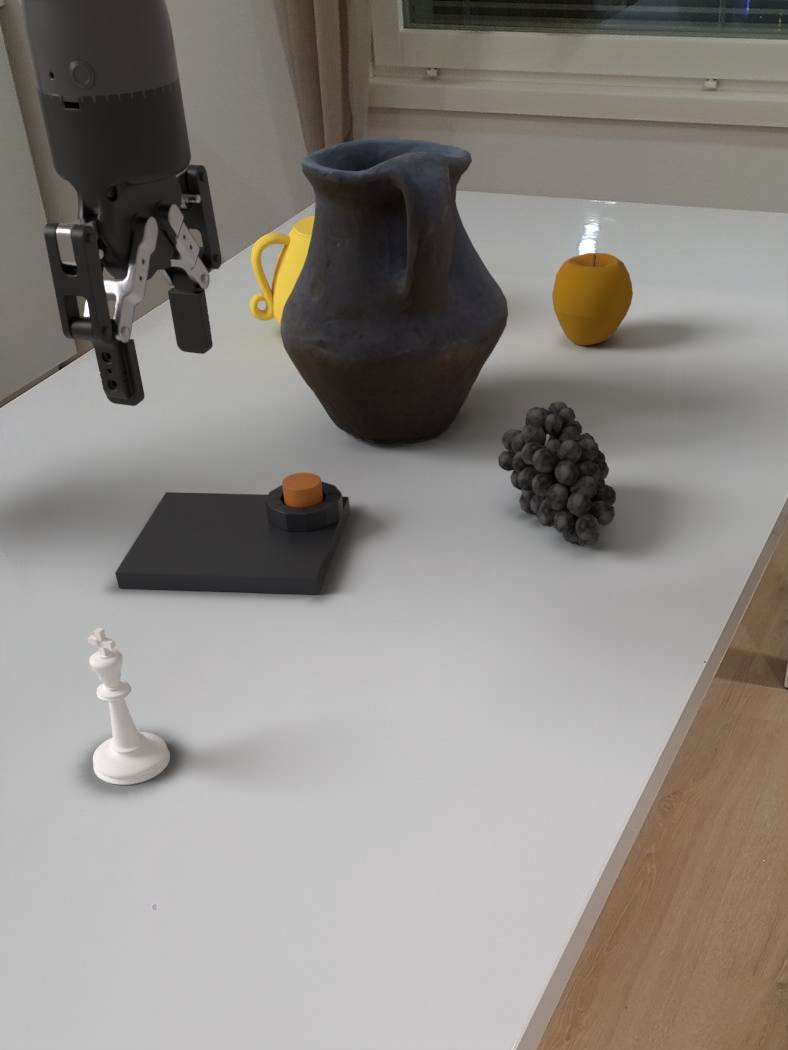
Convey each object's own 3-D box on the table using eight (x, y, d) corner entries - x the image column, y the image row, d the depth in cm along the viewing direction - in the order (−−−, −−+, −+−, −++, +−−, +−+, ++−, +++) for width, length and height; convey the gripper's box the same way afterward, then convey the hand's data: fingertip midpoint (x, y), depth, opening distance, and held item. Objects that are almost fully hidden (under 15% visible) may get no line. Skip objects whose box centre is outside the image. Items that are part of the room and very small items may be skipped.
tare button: (280, 509, 105) (278, 489, 104) (289, 491, 107) (286, 471, 106) (319, 510, 105) (316, 490, 104) (326, 492, 107) (324, 472, 106)
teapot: (435, 343, 140) (429, 216, 131) (262, 362, 136) (245, 234, 128) (399, 285, 154) (392, 168, 146) (242, 302, 151) (225, 183, 143)
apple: (617, 359, 135) (622, 271, 129) (540, 351, 137) (541, 264, 131) (638, 332, 141) (643, 246, 135) (564, 324, 143) (566, 239, 137)
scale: (118, 588, 101) (110, 553, 99) (168, 506, 112) (162, 474, 110) (318, 594, 100) (314, 560, 98) (350, 511, 110) (347, 478, 108)
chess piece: (140, 792, 82) (106, 659, 75) (78, 774, 83) (39, 641, 77) (185, 749, 85) (156, 618, 78) (124, 732, 87) (91, 602, 80)
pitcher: (454, 368, 134) (444, 96, 117) (551, 446, 119) (556, 147, 103) (266, 406, 128) (228, 123, 111) (344, 493, 113) (313, 182, 96)
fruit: (622, 452, 96) (568, 374, 107) (520, 497, 97) (477, 415, 108) (649, 545, 102) (595, 462, 113) (553, 587, 103) (509, 501, 114)
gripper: (115, 46, 75) (166, 330, 85) (-34, 99, 65) (45, 414, 75) (231, 51, 73) (268, 341, 83) (96, 107, 63) (158, 429, 73)
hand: (162, 375), depth 79 cm, fingers open, 8 cm apart
